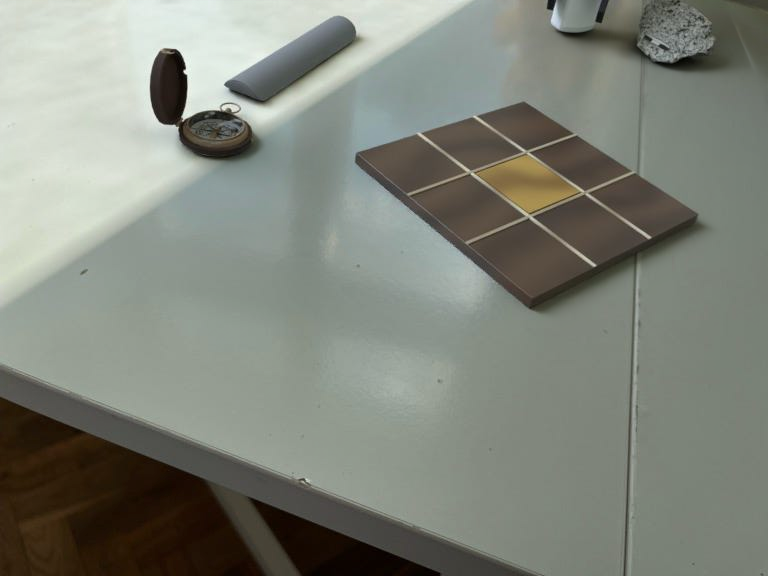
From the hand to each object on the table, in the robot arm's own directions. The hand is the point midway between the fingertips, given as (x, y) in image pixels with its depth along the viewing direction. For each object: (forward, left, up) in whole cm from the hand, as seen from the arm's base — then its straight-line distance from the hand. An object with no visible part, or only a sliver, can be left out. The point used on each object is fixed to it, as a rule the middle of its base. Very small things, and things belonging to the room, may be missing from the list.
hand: (575, 10), depth 90 cm
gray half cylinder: (+8, +33, -4) cm, 34 cm away
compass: (0, +47, -4) cm, 47 cm away
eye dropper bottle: (+2, -3, -4) cm, 5 cm away
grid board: (-20, +28, -4) cm, 34 cm away
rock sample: (-8, -10, -4) cm, 13 cm away
